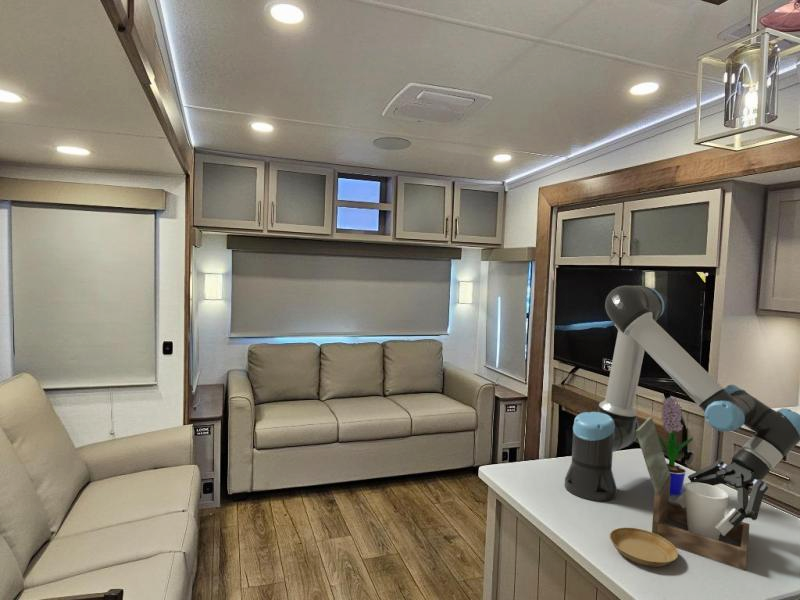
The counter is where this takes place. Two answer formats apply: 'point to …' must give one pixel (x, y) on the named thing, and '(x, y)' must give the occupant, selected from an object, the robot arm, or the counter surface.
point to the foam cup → (704, 508)
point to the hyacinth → (673, 443)
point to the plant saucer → (643, 546)
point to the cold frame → (684, 509)
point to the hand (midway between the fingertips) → (698, 517)
